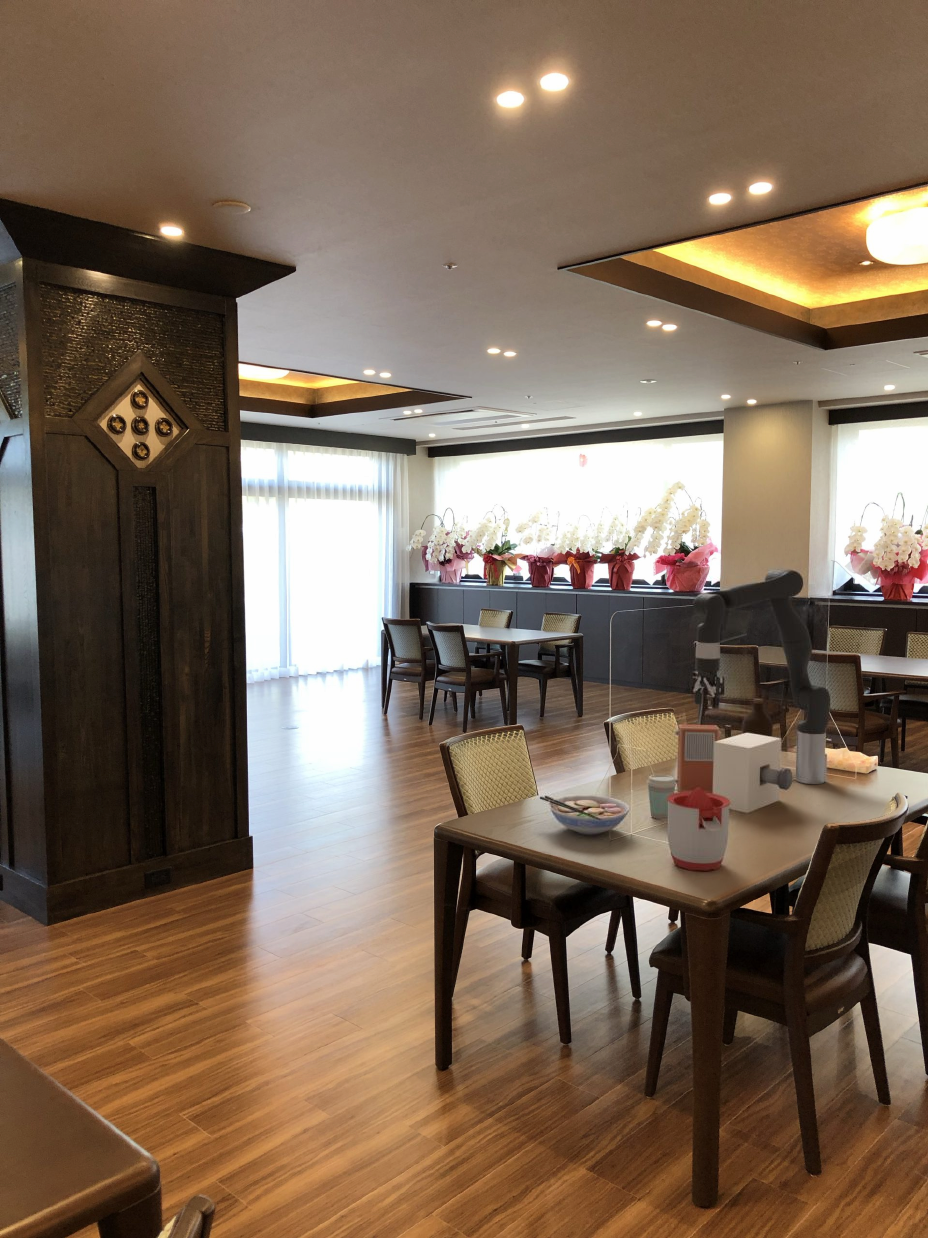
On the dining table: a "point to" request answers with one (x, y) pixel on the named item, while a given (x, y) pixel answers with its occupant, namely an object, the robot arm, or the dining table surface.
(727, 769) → the knob mount
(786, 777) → the knob
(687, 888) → the dining table surface
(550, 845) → the dining table surface
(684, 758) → the orange radio
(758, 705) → the olive oil
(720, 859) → the citrus juicer
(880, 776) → the dining table surface
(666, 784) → the coffee cup
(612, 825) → the ramen bowl
